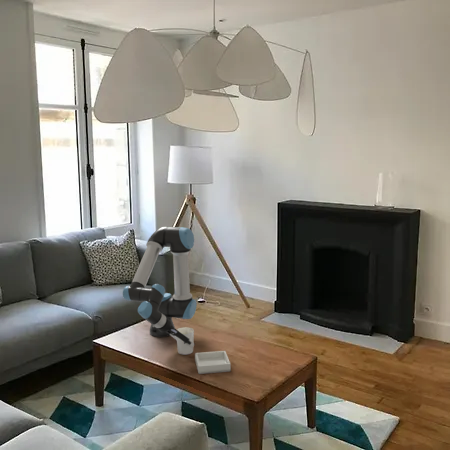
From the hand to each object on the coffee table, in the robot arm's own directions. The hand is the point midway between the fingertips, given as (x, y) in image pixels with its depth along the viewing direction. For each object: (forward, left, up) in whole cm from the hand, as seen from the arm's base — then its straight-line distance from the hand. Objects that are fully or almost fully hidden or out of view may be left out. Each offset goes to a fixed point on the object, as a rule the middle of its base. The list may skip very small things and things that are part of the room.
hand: (185, 342), depth 282 cm
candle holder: (0, 0, -5) cm, 5 cm away
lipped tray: (+20, +12, -5) cm, 24 cm away
